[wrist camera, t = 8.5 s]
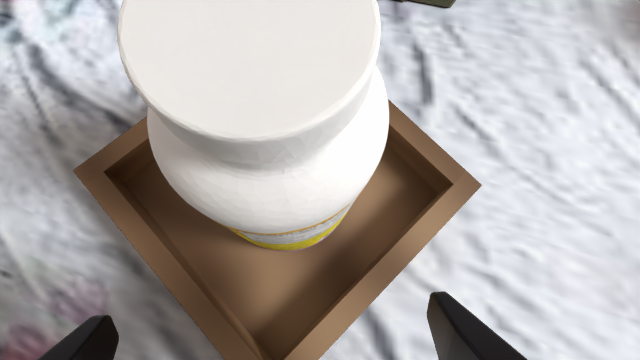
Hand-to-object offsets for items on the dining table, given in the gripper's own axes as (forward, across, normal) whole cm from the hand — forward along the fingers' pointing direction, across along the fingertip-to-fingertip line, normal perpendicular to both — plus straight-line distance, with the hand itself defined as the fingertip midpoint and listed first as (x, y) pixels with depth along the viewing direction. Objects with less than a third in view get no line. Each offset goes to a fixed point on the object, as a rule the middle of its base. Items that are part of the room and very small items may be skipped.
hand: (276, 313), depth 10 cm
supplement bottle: (+9, 0, +1) cm, 9 cm away
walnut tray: (+10, 0, +2) cm, 10 cm away
